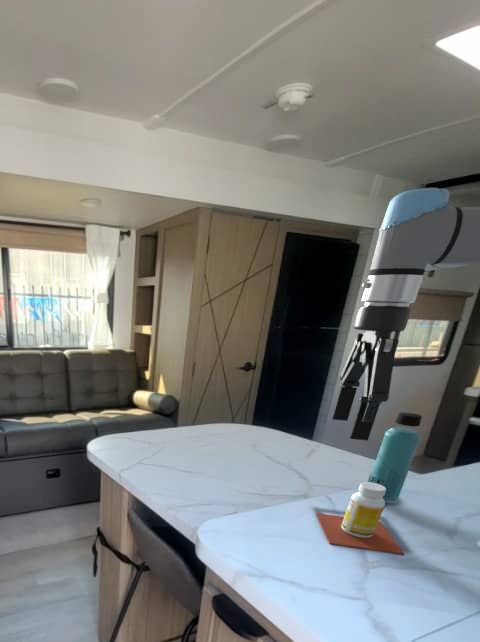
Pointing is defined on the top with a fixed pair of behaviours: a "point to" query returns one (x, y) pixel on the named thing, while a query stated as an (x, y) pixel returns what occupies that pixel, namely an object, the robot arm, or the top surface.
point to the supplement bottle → (364, 510)
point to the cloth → (339, 537)
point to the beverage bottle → (396, 456)
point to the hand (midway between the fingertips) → (348, 428)
